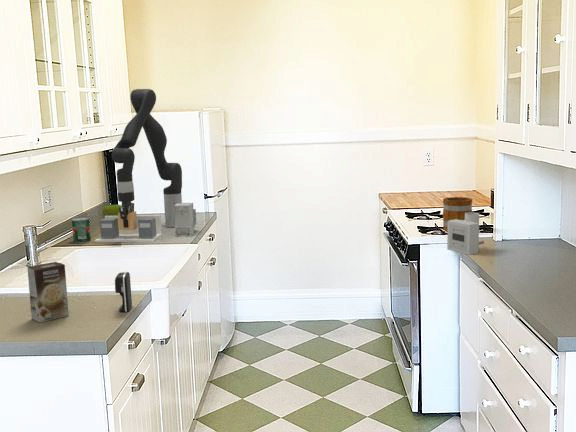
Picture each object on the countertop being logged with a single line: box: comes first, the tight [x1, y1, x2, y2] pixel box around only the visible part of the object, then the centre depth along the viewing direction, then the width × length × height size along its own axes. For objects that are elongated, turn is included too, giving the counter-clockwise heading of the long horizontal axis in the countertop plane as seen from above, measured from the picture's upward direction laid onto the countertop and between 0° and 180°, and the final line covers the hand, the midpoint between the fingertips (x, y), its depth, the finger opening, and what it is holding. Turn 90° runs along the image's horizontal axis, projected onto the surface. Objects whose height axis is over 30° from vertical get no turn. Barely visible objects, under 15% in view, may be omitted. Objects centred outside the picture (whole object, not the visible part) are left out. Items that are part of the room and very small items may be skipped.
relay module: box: [118, 210, 138, 230], centre depth 303 cm, size 5×7×8 cm
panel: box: [94, 214, 163, 243], centre depth 306 cm, size 15×28×10 cm, turn 84°
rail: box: [97, 235, 156, 239], centre depth 304 cm, size 4×27×1 cm, turn 84°
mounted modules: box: [99, 218, 156, 238], centre depth 304 cm, size 6×25×8 cm, turn 84°
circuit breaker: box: [174, 202, 197, 237], centre depth 315 cm, size 8×14×15 cm, turn 174°
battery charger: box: [114, 271, 133, 313], centre depth 198 cm, size 7×4×11 cm, turn 5°
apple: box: [102, 203, 122, 219], centre depth 351 cm, size 11×11×11 cm
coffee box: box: [26, 261, 70, 323], centre depth 192 cm, size 9×6×16 cm
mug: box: [442, 196, 473, 233], centre depth 305 cm, size 20×14×15 cm
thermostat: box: [446, 212, 485, 256], centre depth 262 cm, size 12×14×15 cm
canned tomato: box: [71, 217, 92, 244], centre depth 303 cm, size 8×8×11 cm
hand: (128, 226), depth 303 cm, fingers closed on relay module, 5 cm apart
